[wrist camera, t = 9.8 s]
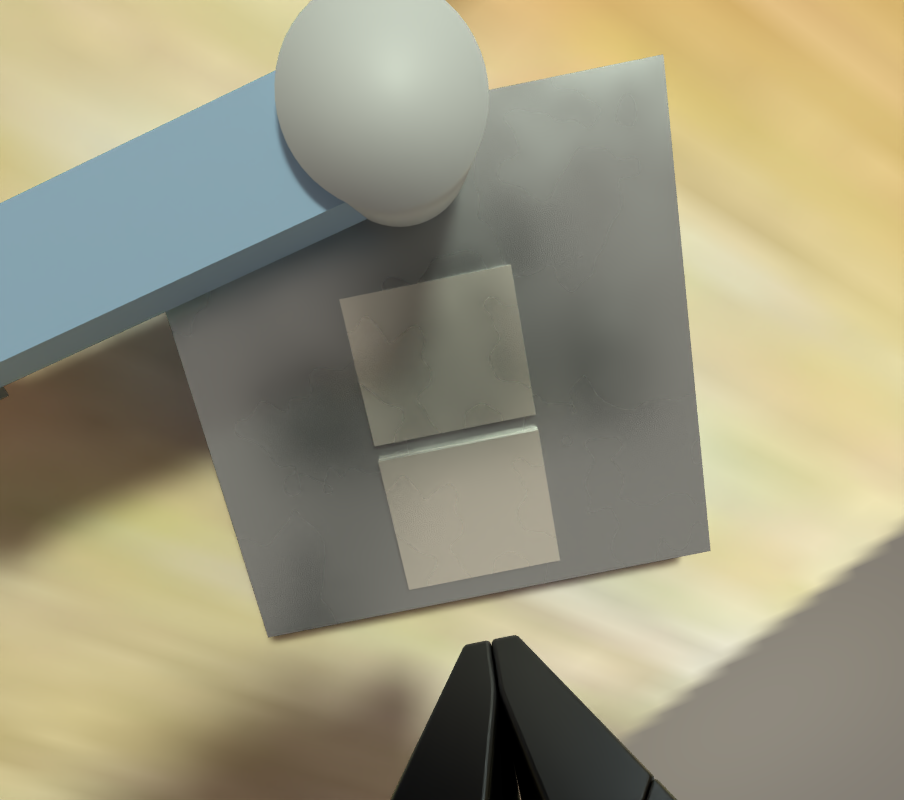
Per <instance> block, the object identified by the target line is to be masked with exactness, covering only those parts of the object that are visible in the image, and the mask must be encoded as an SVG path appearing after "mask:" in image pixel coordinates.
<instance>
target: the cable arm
mask: <svg viewBox="0 0 904 800" xmlns="http://www.w3.org/2000/svg"><path fill="white" fill-rule="evenodd" d="M488 105H489V89H488V78H487V73H486V68H485V64H484V60H483V57H482V54H481V51H480V49H479V46H478V44H477V42H476V40H475V38H474V36H473V34H472V32H471V31H470V29H469V27H468V26H467V24H466V23H465V22H464V20H463V19H462V18H461V16H460V15H459V14H458V13H457V11H456V10H455V9H453V8H452V7H451V6H450V5H449V4H448V3H447V2H446V1H445V0H312V1H310V2H309V4H308V5H307V6H306V7H305V8H304V9H303V10H302V11H301V12H300V13H299V15H298V16H297V18H296V19H295V20H294V22H293V23H292V25H291V27H290V29H289V31H288V32H287V34H286V36H285V38H284V41H283V44H282V46H281V49H280V52H279V56H278V60H277V65H276V70H275V71H273V72H271V73H269V74H267V75H265V76H263V77H261V78H259V79H257V80H255V81H252V82H250V83H248V84H246V85H244V86H242V87H240V88H238V89H236V90H234V91H232V92H230V93H228V94H226V95H223V96H221V97H219V98H217V99H215V100H213V101H211V102H209V103H207V104H205V105H203V106H201V107H199V108H197V109H194V110H192V111H190V112H188V113H186V114H184V115H182V116H180V117H178V118H176V119H174V120H172V121H170V122H168V123H166V124H163V125H161V126H159V127H157V128H155V129H153V130H151V131H149V132H147V133H145V134H143V135H141V136H139V137H137V138H134V139H132V140H130V141H128V142H126V143H124V144H122V145H120V146H118V147H116V148H114V149H112V150H110V151H108V152H105V153H103V154H101V155H99V156H97V157H95V158H93V159H91V160H89V161H87V162H85V163H83V164H81V165H79V166H76V167H74V168H72V169H70V170H68V171H66V172H64V173H62V174H60V175H58V176H56V177H54V178H52V179H50V180H47V181H45V182H43V183H41V184H39V185H37V186H35V187H33V188H31V189H29V190H27V191H25V192H23V193H21V194H18V195H16V196H14V197H12V198H10V199H8V200H6V201H4V202H2V203H0V400H1V399H3V398H5V397H7V396H9V395H8V393H7V392H6V390H5V389H4V387H3V386H5V385H7V384H10V383H12V382H14V381H16V380H18V379H20V378H23V377H25V376H27V375H29V374H31V373H33V372H36V371H38V370H40V369H42V368H44V367H47V366H49V365H51V364H53V363H55V362H57V361H60V360H62V359H64V358H66V357H68V356H70V355H73V354H75V353H77V352H79V351H81V350H83V349H86V348H88V347H90V346H92V345H94V344H96V343H99V342H101V341H103V340H105V339H107V338H110V337H112V336H114V335H116V334H118V333H120V332H123V331H125V330H127V329H129V328H131V327H133V326H136V325H138V324H140V323H142V322H144V321H146V320H149V319H151V318H153V317H155V316H157V315H160V314H162V313H164V312H166V311H168V310H170V309H173V308H175V307H177V306H179V305H181V304H183V303H186V302H188V301H190V300H192V299H194V298H196V297H199V296H201V295H203V294H205V293H207V292H210V291H212V290H214V289H216V288H218V287H220V286H223V285H225V284H227V283H229V282H231V281H233V280H236V279H238V278H240V277H242V276H244V275H246V274H249V273H251V272H253V271H255V270H257V269H259V268H262V267H264V266H266V265H268V264H270V263H273V262H275V261H277V260H279V259H281V258H283V257H286V256H288V255H290V254H292V253H294V252H296V251H299V250H301V249H303V248H305V247H307V246H309V245H312V244H314V243H316V242H318V241H320V240H323V239H325V238H327V237H329V236H331V235H333V234H336V233H338V232H340V231H342V230H344V229H346V228H349V227H351V226H353V225H355V224H357V223H359V222H362V221H364V220H366V219H368V220H370V221H372V222H375V223H378V224H381V225H386V226H391V227H406V226H413V225H417V224H421V223H423V222H426V221H428V220H430V219H432V218H434V217H436V216H437V215H438V214H440V213H441V212H443V211H444V210H445V209H446V208H447V207H448V206H449V205H450V204H451V203H452V202H453V200H454V199H455V198H456V197H457V195H458V194H459V192H460V190H461V189H462V187H463V184H464V182H465V180H466V177H467V175H468V172H469V170H470V167H471V165H472V162H473V160H474V157H475V155H476V152H477V150H478V147H479V145H480V142H481V139H482V136H483V133H484V130H485V126H486V121H487V115H488Z"/></svg>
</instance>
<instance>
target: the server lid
mask: <svg viewBox="0 0 904 800" xmlns="http://www.w3.org/2000/svg"><path fill="white" fill-rule="evenodd" d="M166 314H167V318H168V321H169V324H170V327H171V330H172V334H173V337H174V340H175V343H176V346H177V349H178V353H179V356H180V359H181V362H182V365H183V368H184V372H185V375H186V378H187V381H188V384H189V387H190V391H191V394H192V397H193V400H194V403H195V407H196V410H197V413H198V416H199V419H200V422H201V426H202V429H203V432H204V435H205V438H206V441H207V445H208V448H209V451H210V454H211V457H212V460H213V464H214V467H215V470H216V473H217V476H218V480H219V483H220V486H221V489H222V492H223V495H224V499H225V502H226V505H227V508H228V511H229V514H230V518H231V521H232V524H233V527H234V530H235V533H236V537H237V540H238V543H239V546H240V549H241V553H242V556H243V559H244V562H245V565H246V568H247V572H248V575H249V578H250V581H251V584H252V587H253V591H254V594H255V597H256V600H257V603H258V606H259V610H260V613H261V616H262V619H263V622H264V626H265V629H266V632H267V635H268V637H273V636H278V635H283V634H288V633H294V632H299V631H304V630H309V629H314V628H319V627H324V626H329V625H334V624H339V623H345V622H350V621H355V620H360V619H365V618H370V617H375V616H380V615H385V614H391V613H396V612H401V611H406V610H411V609H416V608H421V607H426V606H431V605H436V604H442V603H447V602H452V601H457V600H462V599H467V598H472V597H477V596H482V595H487V594H493V593H498V592H503V591H508V590H513V589H518V588H523V587H528V586H533V585H538V584H544V583H549V582H554V581H559V580H564V579H569V578H574V577H579V576H584V575H589V574H595V573H600V572H605V571H610V570H615V569H620V568H625V567H630V566H635V565H640V564H646V563H651V562H656V561H661V560H666V559H671V558H676V557H681V556H686V555H691V554H697V553H702V552H707V551H710V541H709V531H708V520H707V510H706V499H705V489H704V478H703V468H702V457H701V447H700V436H699V426H698V415H697V405H696V394H695V384H694V373H693V362H692V352H691V341H690V331H689V320H688V310H687V299H686V289H685V278H684V268H683V257H682V247H681V236H680V226H679V215H678V205H677V194H676V184H675V173H674V163H673V152H672V141H671V131H670V120H669V110H668V99H667V89H666V78H665V68H664V57H663V55H658V56H653V57H648V58H644V59H639V60H634V61H629V62H624V63H619V64H614V65H609V66H604V67H600V68H595V69H590V70H585V71H580V72H575V73H570V74H565V75H561V76H556V77H551V78H546V79H541V80H536V81H531V82H526V83H521V84H517V85H512V86H507V87H502V88H497V89H492V90H489V105H488V115H487V121H486V126H485V130H484V133H483V136H482V139H481V142H480V145H479V147H478V150H477V152H476V155H475V157H474V160H473V162H472V165H471V167H470V170H469V172H468V175H467V177H466V180H465V182H464V184H463V187H462V189H461V190H460V192H459V194H458V195H457V197H456V198H455V199H454V200H453V202H452V203H451V204H450V205H449V206H448V207H447V208H446V209H445V210H444V211H443V212H441V213H440V214H438V215H437V216H436V217H434V218H432V219H430V220H428V221H426V222H423V223H421V224H417V225H413V226H406V227H391V226H386V225H381V224H378V223H375V222H372V221H370V220H368V219H366V220H364V221H362V222H359V223H357V224H355V225H353V226H351V227H349V228H346V229H344V230H342V231H340V232H338V233H336V234H333V235H331V236H329V237H327V238H325V239H323V240H320V241H318V242H316V243H314V244H312V245H309V246H307V247H305V248H303V249H301V250H299V251H296V252H294V253H292V254H290V255H288V256H286V257H283V258H281V259H279V260H277V261H275V262H273V263H270V264H268V265H266V266H264V267H262V268H259V269H257V270H255V271H253V272H251V273H249V274H246V275H244V276H242V277H240V278H238V279H236V280H233V281H231V282H229V283H227V284H225V285H223V286H220V287H218V288H216V289H214V290H212V291H210V292H207V293H205V294H203V295H201V296H199V297H196V298H194V299H192V300H190V301H188V302H186V303H183V304H181V305H179V306H177V307H175V308H173V309H170V310H168V311H166Z"/></svg>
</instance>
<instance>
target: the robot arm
mask: <svg viewBox="0 0 904 800" xmlns="http://www.w3.org/2000/svg"><path fill="white" fill-rule="evenodd" d="M516 776H517V777H516ZM517 781H518V783H517ZM518 786H519V789H518ZM519 791H520V796H521V800H677V799H676V798H675V797H674V796H673V795H672V794H671V793H670V792H669V791H668V790H667V789H666V788H665V787H664V786H663V785H662V784H661V783H660V782H659V781H658V780H656V779H655V780H654V776H653V775H652V774H651V773H650V772H649V771H648V770H647V769H646V768H645V766H644V765H643V764H642V763H641V762H639V760H638V759H637V758H636V757H635V756H634V755H633V754H632V753H631V752H630V751H629V750H628V749H627V748H626V747H625V746H624V745H623V744H622V743H621V742H620V741H619V740H618V739H617V738H616V737H615V736H614V734H613V733H612V732H611V731H610V730H609V729H608V728H607V727H606V726H605V725H604V724H603V723H602V722H601V721H600V720H599V719H598V718H597V717H596V716H595V715H594V714H593V713H592V712H591V711H590V710H589V709H588V708H587V707H586V706H585V705H584V704H583V703H582V701H581V700H580V699H579V698H578V697H577V696H576V695H575V694H574V693H573V692H572V691H571V690H570V689H569V688H568V687H567V686H566V685H565V684H564V683H563V682H562V681H561V680H560V679H559V678H558V677H557V676H556V675H555V674H554V673H553V672H552V671H551V670H550V668H549V667H548V666H547V665H546V664H545V663H544V662H543V661H542V660H541V659H540V658H539V657H538V656H537V655H536V654H535V653H534V652H533V651H532V650H531V649H530V648H529V647H528V646H527V645H526V644H525V643H524V642H523V641H522V640H521V639H520V638H519V637H518V636H516V635H513V636H508V637H503V638H498V639H494V640H493V641H492V645H491V643H490V642H489V641H482V642H477V643H472V644H468V645H465V646H464V648H463V649H462V651H461V654H460V656H459V658H458V660H457V662H456V664H455V666H454V668H453V670H452V672H451V674H450V677H449V679H448V681H447V683H446V685H445V687H444V689H443V691H442V693H441V695H440V697H439V699H438V702H437V704H436V706H435V708H434V710H433V712H432V714H431V716H430V718H429V720H428V722H427V724H426V727H425V729H424V731H423V733H422V735H421V737H420V739H419V741H418V743H417V745H416V747H415V749H414V752H413V754H412V756H411V758H410V760H409V762H408V764H407V766H406V768H405V770H404V772H403V774H402V777H401V779H400V781H399V783H398V785H397V787H396V789H395V791H394V793H393V795H392V797H391V800H520V796H519Z"/></svg>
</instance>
